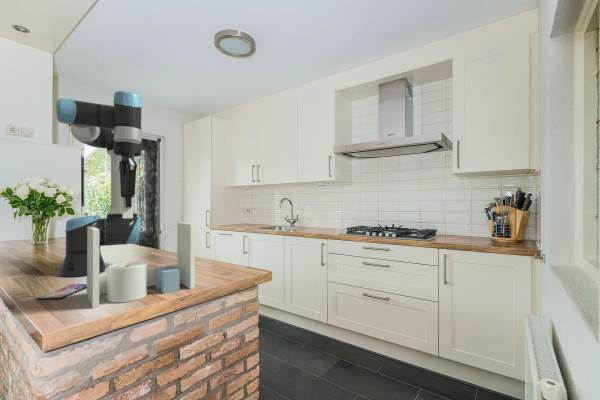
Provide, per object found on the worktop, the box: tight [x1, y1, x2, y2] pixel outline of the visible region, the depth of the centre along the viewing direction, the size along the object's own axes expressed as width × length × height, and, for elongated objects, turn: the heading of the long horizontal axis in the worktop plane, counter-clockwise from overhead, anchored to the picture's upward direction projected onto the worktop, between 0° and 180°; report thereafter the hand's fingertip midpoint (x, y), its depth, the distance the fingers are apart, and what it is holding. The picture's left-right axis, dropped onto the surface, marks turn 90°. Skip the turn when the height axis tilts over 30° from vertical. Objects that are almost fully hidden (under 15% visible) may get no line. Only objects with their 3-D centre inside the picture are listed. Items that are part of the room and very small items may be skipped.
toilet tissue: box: [106, 259, 148, 304], centre depth 93 cm, size 11×12×10 cm
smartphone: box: [36, 283, 87, 301], centre depth 98 cm, size 8×1×15 cm
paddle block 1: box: [155, 265, 174, 291], centre depth 103 cm, size 3×5×7 cm, turn 131°
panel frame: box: [86, 221, 196, 309], centre depth 98 cm, size 14×29×22 cm, turn 131°
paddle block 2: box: [160, 268, 181, 295], centre depth 99 cm, size 3×5×7 cm, turn 131°
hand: (127, 218), depth 93 cm, fingers closed
